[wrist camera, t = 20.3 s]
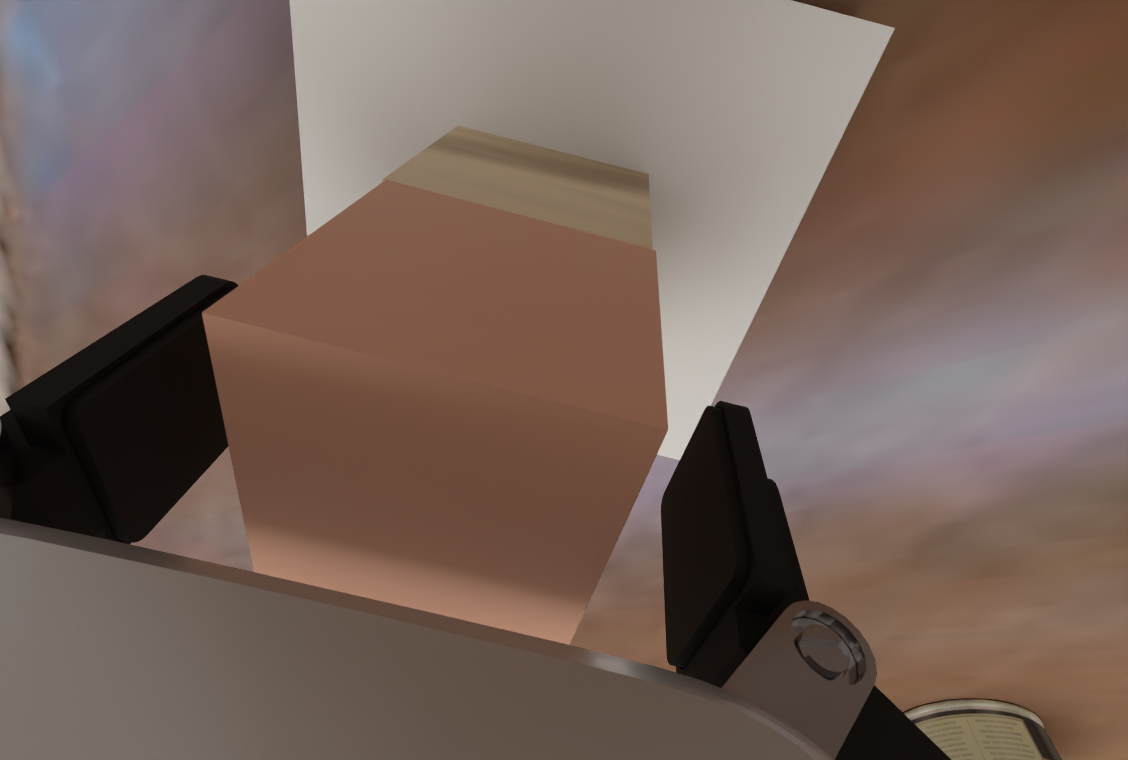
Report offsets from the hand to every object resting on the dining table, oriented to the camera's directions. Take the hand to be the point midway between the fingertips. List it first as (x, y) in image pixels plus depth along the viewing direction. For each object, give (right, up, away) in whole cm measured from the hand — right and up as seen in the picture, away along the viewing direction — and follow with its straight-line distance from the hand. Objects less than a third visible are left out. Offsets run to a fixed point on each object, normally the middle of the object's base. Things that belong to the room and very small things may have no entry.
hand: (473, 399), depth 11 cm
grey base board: (+1, +7, +10) cm, 12 cm away
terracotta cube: (0, +2, +2) cm, 3 cm away
